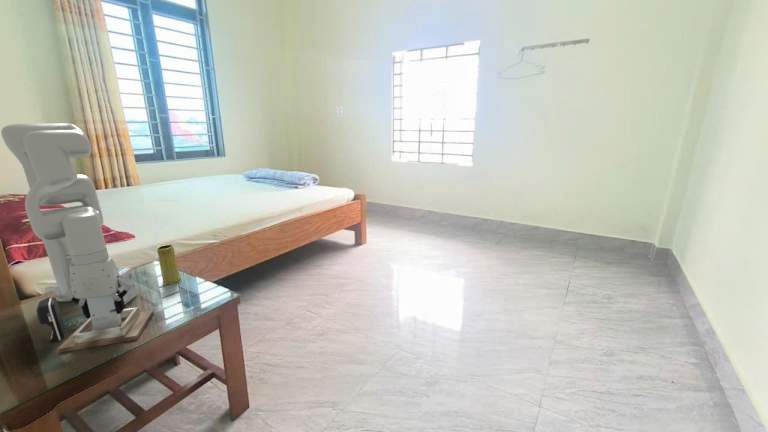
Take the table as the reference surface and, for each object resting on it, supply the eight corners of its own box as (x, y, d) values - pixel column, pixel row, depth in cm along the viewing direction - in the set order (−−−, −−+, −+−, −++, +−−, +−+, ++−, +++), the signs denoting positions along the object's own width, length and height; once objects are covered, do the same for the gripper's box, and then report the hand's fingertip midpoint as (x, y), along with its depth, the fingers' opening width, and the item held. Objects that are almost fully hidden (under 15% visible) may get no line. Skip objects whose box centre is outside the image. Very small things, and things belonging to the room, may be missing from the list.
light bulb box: (118, 296, 119) (111, 268, 117) (138, 294, 120) (131, 267, 117) (96, 312, 109) (88, 282, 106) (118, 310, 110) (110, 280, 107)
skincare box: (94, 333, 95) (83, 295, 91) (96, 326, 98) (86, 288, 95) (121, 326, 98) (111, 289, 95) (122, 319, 102) (113, 283, 98)
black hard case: (48, 334, 98) (37, 299, 95) (66, 329, 100) (55, 294, 97) (45, 345, 93) (33, 309, 90) (64, 340, 95) (53, 304, 92)
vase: (184, 279, 131) (177, 245, 127) (167, 286, 126) (160, 250, 122) (176, 276, 134) (169, 242, 131) (159, 282, 129) (152, 247, 126)
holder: (59, 352, 90) (55, 340, 89) (86, 324, 102) (83, 313, 101) (137, 339, 95) (134, 327, 94) (153, 313, 108) (151, 303, 107)
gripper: (42, 266, 86) (61, 326, 91) (121, 257, 91) (135, 315, 96) (59, 255, 93) (76, 312, 98) (132, 248, 98) (145, 302, 103)
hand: (105, 313), depth 97 cm, fingers closed on skincare box, 6 cm apart
